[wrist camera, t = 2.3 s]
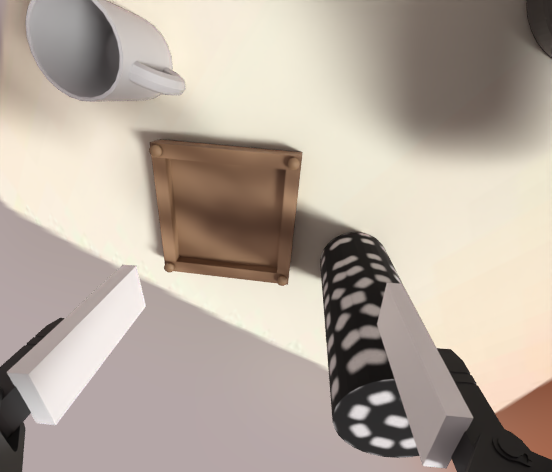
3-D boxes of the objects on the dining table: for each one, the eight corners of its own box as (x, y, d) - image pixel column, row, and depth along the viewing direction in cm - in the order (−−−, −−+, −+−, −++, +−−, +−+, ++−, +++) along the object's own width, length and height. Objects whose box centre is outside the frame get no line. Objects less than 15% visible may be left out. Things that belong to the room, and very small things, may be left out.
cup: (111, 0, 27) (27, -41, 19) (209, 53, 28) (170, 35, 20) (99, 80, 30) (24, 74, 22) (188, 124, 31) (147, 134, 23)
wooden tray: (160, 139, 32) (146, 143, 29) (302, 152, 31) (301, 157, 28) (173, 260, 39) (163, 272, 36) (288, 273, 38) (287, 287, 35)
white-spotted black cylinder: (312, 279, 38) (317, 441, 20) (331, 225, 34) (358, 364, 16) (372, 294, 38) (429, 468, 20) (397, 241, 34) (495, 398, 17)
